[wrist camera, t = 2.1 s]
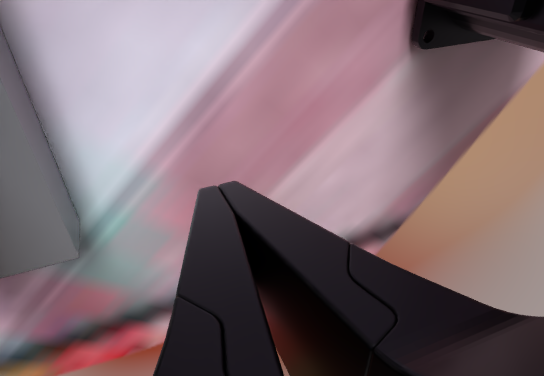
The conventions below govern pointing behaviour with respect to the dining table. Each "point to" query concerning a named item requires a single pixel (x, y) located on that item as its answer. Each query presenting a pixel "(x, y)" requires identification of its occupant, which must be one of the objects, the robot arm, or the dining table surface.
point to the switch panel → (29, 184)
